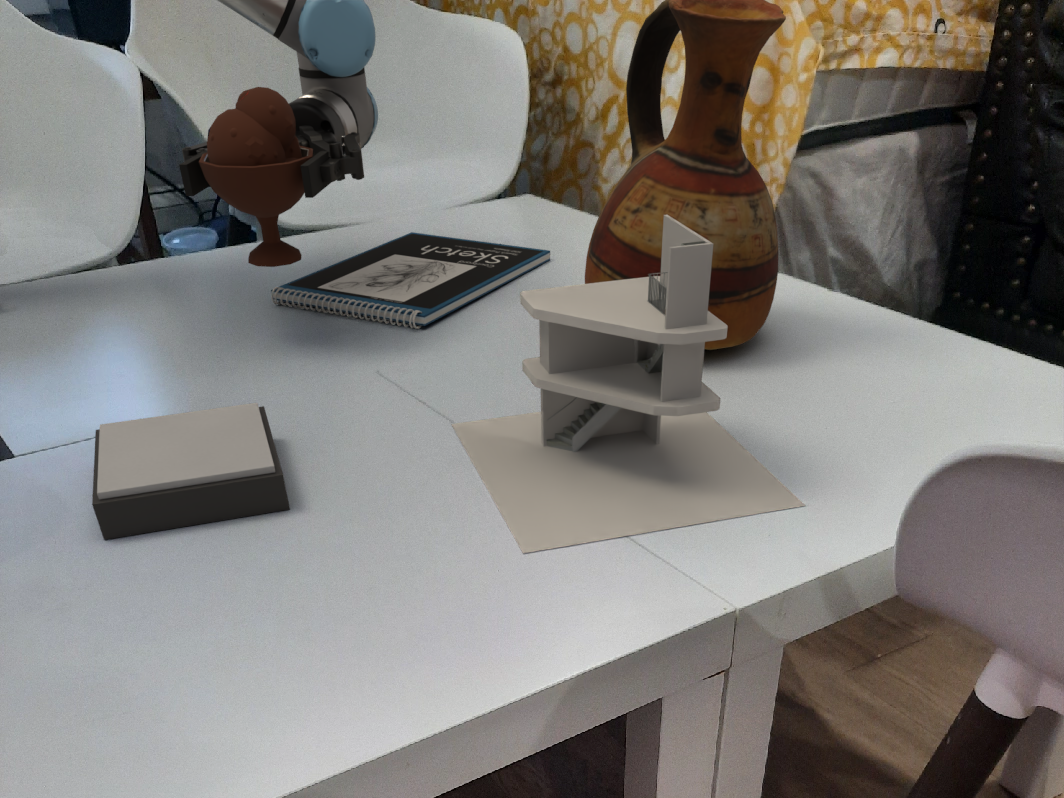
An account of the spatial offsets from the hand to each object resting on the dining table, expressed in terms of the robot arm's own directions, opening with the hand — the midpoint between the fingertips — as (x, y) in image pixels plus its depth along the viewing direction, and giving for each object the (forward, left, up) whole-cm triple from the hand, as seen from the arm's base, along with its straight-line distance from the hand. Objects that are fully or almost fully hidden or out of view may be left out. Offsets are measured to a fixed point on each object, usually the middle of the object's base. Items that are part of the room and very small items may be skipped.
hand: (246, 181), depth 95 cm
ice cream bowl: (-4, +2, -8) cm, 9 cm away
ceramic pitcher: (+10, +41, -17) cm, 45 cm away
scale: (+28, -10, -16) cm, 34 cm away
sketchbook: (-19, +19, -17) cm, 32 cm away
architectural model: (+36, +24, -17) cm, 46 cm away
